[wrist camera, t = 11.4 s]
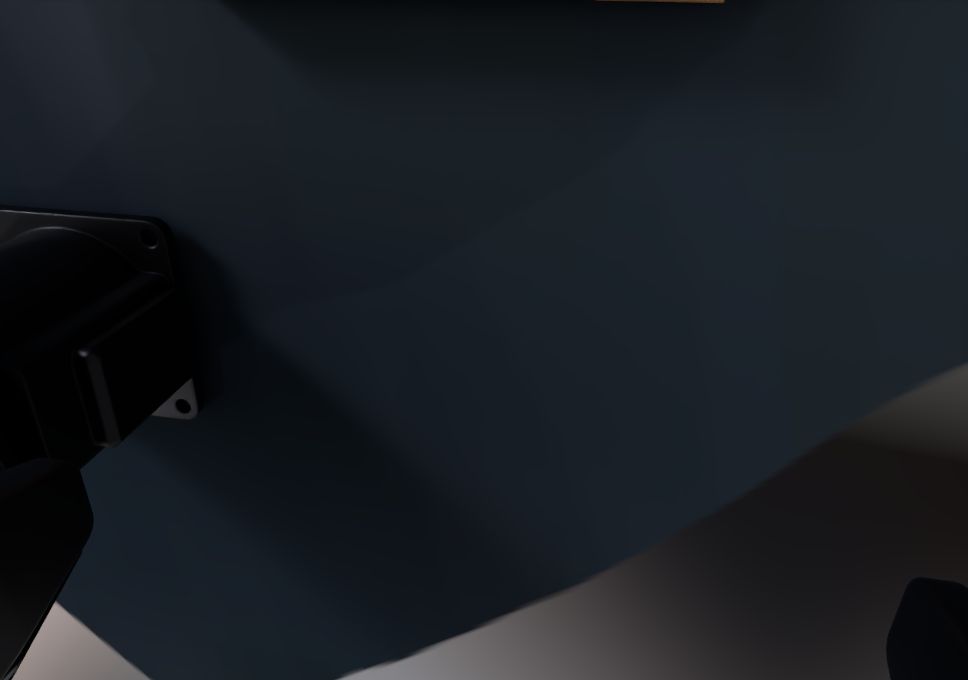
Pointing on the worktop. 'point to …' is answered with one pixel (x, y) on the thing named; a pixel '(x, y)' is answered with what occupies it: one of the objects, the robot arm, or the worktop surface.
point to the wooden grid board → (687, 0)
